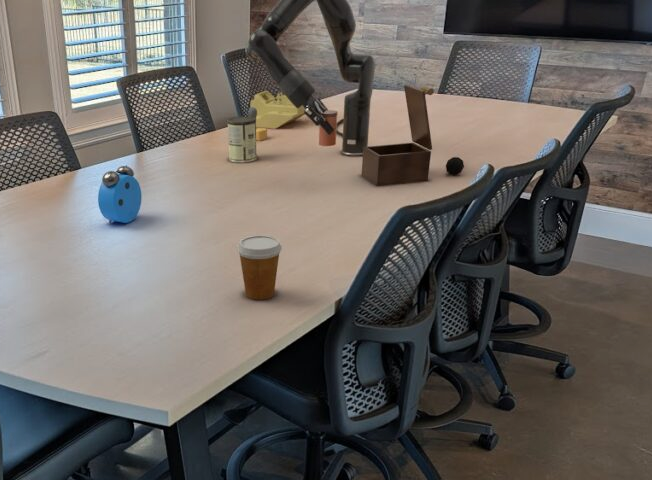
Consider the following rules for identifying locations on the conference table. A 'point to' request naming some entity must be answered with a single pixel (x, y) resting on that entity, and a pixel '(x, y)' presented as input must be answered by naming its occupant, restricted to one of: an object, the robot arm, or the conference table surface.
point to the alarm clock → (119, 195)
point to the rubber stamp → (260, 132)
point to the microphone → (454, 166)
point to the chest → (395, 164)
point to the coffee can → (242, 139)
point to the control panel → (274, 110)
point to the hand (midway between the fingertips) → (333, 130)
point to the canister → (323, 136)
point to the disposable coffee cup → (259, 265)
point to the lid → (418, 114)
